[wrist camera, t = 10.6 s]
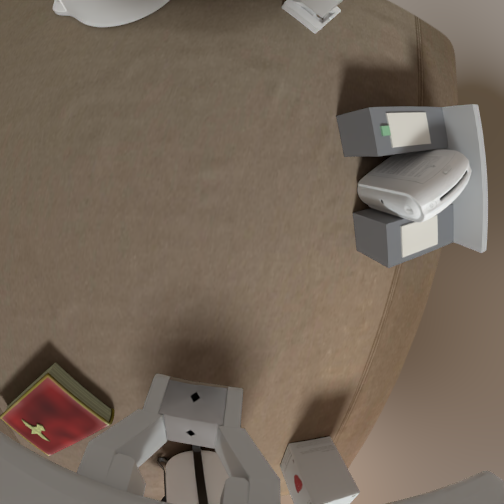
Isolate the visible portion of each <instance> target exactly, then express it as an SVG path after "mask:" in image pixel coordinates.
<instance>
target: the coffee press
mask: <svg viewBox="0 0 504 504" xmlns="http://www.w3.org/2000/svg"><path fill="white" fill-rule="evenodd" d="M192 449H193V451H187V452H183V453H180V454H177V455H175V456H173V457H172V458H171V459H170V460H169V461H167V460H166V459H165V458H163V457H160V458H158V459H157V461H158V464H159V466H160V467H161V468H162V469H163V470H164V467H163V466H162V465H161V464H160V462H161V461H164V462H166V463H167V464H166V473H165V470H164V485H165V496H164V497H163V499H162V500H161V501H163V502H168V503H172V504H220V498H221V495H222V491H223V488H224V484H225V481H226V479H228V478H229V476H228V474H227V472H226V470H225V468H224V466H223V465H222V463H221V461H220V459H219V457H218V455H217V453H216V452H212V451H205V450H201V448H200V446H197V445H192Z"/></svg>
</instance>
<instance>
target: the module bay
mask: <svg viewBox="0 0 504 504" xmlns="http://www.w3.org/2000/svg"><path fill="white" fill-rule="evenodd" d="M336 117H337V122H338V127H339V131H340V136H341V142H342V147H343V152H344V157H348V156H374V157H378V156H385V155H392V154H400V153H407V152H415V151H424V150H432V149H441V150H456V151H458V152H460V153H462V154H463V155H464V156H465V157H466V158H467V159H468V160H469V165H470V168H471V170H472V172H471V176H470V179H469V181H468V183H467V185H466V187H465V188H464V190H463V191H462V192H461V193H460V195H459V196H458V197H457V198H456V199H455V200H454V201H453V202H452V203H451V204H450V205H449V206H448V207H446V208H445V209H444V210H443V211H441V212H440V213H438V214H437V215H435V216H434V217H432V218H430V219H428V220H426V221H423V222H420V223H419V222H414V221H411V220H408V219H405V218H402V217H399V216H396V215H392V214H389V213H386V212H383V211H380V210H376V209H373V208H369V209H366V210H362V211H358V212H354V213H353V219H354V228H355V237H356V247H357V251H359V252H361V253H362V254H364V255H366V256H368V257H370V258H371V259H373V260H375V261H377V262H379V263H380V264H382V265H384V266H386V267H387V268H390V267H392V266H395V265H398V264H400V263H403V262H406V261H408V260H411V259H413V258H416V257H418V256H421V255H423V254H426V253H428V252H431V251H433V250H436V249H438V248H440V247H443V246H445V245H447V244H450V243H452V242H455V243H457V244H460V245H462V246H465V247H468V248H470V249H473V250H475V251H478V252H480V253H482V252H484V251H486V245H487V225H488V190H487V170H486V158H485V148H484V140H483V132H482V125H481V120H480V114H479V108H478V105H474V104H471V105H460V106H449V107H415V106H400V107H368V108H364V109H361V110H357V111H353V112H349V113H345V114H342V115H338V116H336Z"/></svg>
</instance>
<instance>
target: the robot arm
mask: <svg viewBox="0 0 504 504" xmlns="http://www.w3.org/2000/svg"><path fill="white" fill-rule="evenodd" d="M168 1H170V0H55V1H54V5H53V10H54V12H55V13H56V14H57V15H66V16H73V17H74V18H76V19H77V20H79V21H80V22H82V23H84V24H86V25H90V26H95V27H112V26H119V25H123V24H127V23H130V22H133V21H136V20H139V19H141V18H143V17H145V16H148V15H149V14H151V13H153V12H155V11H156V10H158V9H159V8H161V7H162V6H164V5H165V4H166V3H167V2H168ZM242 400H243V388H236V387H228V386H224V385H216V384H210V383H203V382H194V381H189V380H185V379H180V378H176V377H171V376H167V375H162V374H158V373H156V375H155V376H154V378H153V381H152V384H151V387H150V389H149V392H148V395H147V398H146V401H145V404H144V406H143V409H142V410H141V409H137V410H136V411H134V412H133V413H132V414H130V415H129V416H127V417H126V418H124V419H123V420H121V421H120V422H118V423H117V424H115V425H114V426H112V427H111V428H109V429H108V430H106V431H105V432H103V433H102V434H100V435H99V436H97V437H95V438H94V439H92V440H91V441H89V443H88V446H87V448H86V450H85V453H84V455H83V458H82V460H81V463H80V466H79V468H78V471H77V473H75V472H73V471H71V470H69V469H66V468H64V467H62V466H60V465H58V464H56V463H54V462H52V461H50V460H48V459H46V458H44V457H42V456H40V455H38V454H37V453H35V452H33V451H31V450H29V449H28V448H26V447H24V446H22V445H21V444H19V443H18V442H16V441H14V440H13V439H11V438H9V437H8V436H6V435H5V434H3V433H2V432H0V504H172V503H168V502H163V501H159V500H155V499H151V498H147V497H143V495H144V490H145V486H146V483H145V481H144V479H143V477H142V475H141V473H140V471H139V469H138V467H139V466H140V465H142V464H143V463H144V462H145V461H146V460H147V459H148V458H149V457H151V456H152V455H153V454H154V453H155V452H156V451H157V450H158V449H159V448H161V447H162V446H163V445H164V444H165V443H166V442H167V440H170V441H175V442H180V443H186V444H192V445H197V446H202V447H208V448H213V449H215V451H216V453H217V455H218V457H219V459H220V461H221V463H222V465H223V466H224V468H225V470H226V472H227V474H228V476H229V478H228V479H226V481H225V484H224V488H223V491H222V495H221V498H220V504H280V478H279V477H278V476H277V474H276V473H275V472H274V470H273V469H272V467H271V466H270V465H269V463H268V462H267V460H266V459H265V458H264V456H263V455H262V453H261V452H260V450H259V449H258V448H257V446H256V445H255V443H254V442H253V440H252V439H251V437H250V436H249V434H248V433H247V431H246V430H245V429H244V428H241V414H242ZM386 504H504V481H503V480H501V479H500V478H499V477H498V476H496V475H495V474H493V473H491V472H489V471H483V472H481V473H478V474H476V475H474V476H471V477H469V478H466V479H464V480H462V481H459V482H456V483H454V484H451V485H448V486H446V487H443V488H440V489H437V490H434V491H431V492H428V493H424V494H421V495H418V496H414V497H410V498H407V499H403V500H399V501H395V502H390V503H386Z"/></svg>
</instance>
